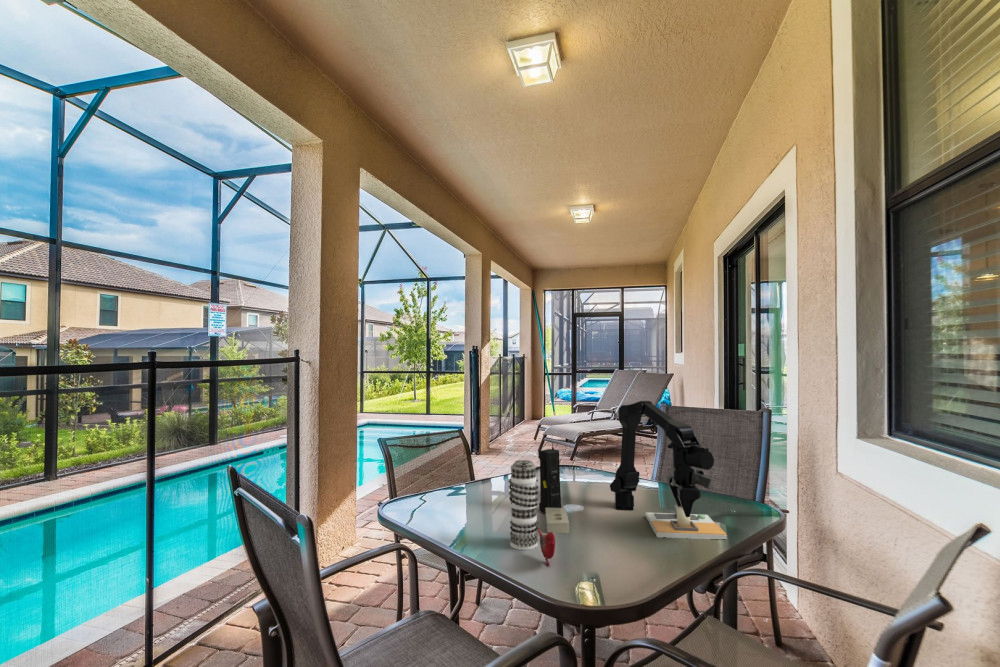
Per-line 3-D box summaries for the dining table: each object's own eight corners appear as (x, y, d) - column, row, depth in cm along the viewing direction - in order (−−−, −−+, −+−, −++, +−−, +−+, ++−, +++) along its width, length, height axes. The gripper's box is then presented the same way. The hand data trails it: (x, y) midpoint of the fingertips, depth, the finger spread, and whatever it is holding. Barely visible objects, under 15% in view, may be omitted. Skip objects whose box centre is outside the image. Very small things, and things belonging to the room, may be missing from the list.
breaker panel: (657, 537, 146) (656, 528, 146) (645, 516, 165) (645, 509, 166) (726, 540, 143) (726, 531, 143) (707, 518, 162) (706, 511, 163)
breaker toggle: (677, 517, 158) (677, 507, 158) (674, 514, 162) (674, 504, 162) (689, 518, 158) (689, 508, 158) (686, 514, 162) (686, 504, 162)
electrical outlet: (565, 505, 167) (569, 522, 149) (565, 516, 167) (569, 534, 149) (545, 505, 168) (547, 521, 150) (545, 516, 167) (547, 534, 150)
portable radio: (548, 516, 166) (547, 446, 168) (536, 512, 171) (535, 444, 173) (562, 511, 171) (561, 444, 173) (550, 508, 176) (550, 442, 178)
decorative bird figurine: (548, 575, 120) (548, 536, 120) (533, 548, 137) (532, 514, 138) (559, 574, 120) (558, 535, 121) (542, 548, 137) (542, 514, 138)
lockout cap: (679, 528, 148) (678, 509, 148) (676, 524, 152) (675, 506, 152) (692, 529, 147) (691, 510, 148) (688, 525, 151) (687, 506, 152)
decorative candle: (509, 538, 145) (508, 458, 147) (538, 539, 145) (537, 458, 146) (508, 550, 136) (508, 464, 138) (540, 550, 136) (538, 464, 137)
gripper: (717, 470, 140) (719, 523, 139) (699, 458, 159) (701, 504, 158) (679, 470, 142) (681, 521, 141) (666, 458, 160) (667, 503, 159)
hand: (683, 512), depth 150 cm, fingers open, 9 cm apart
